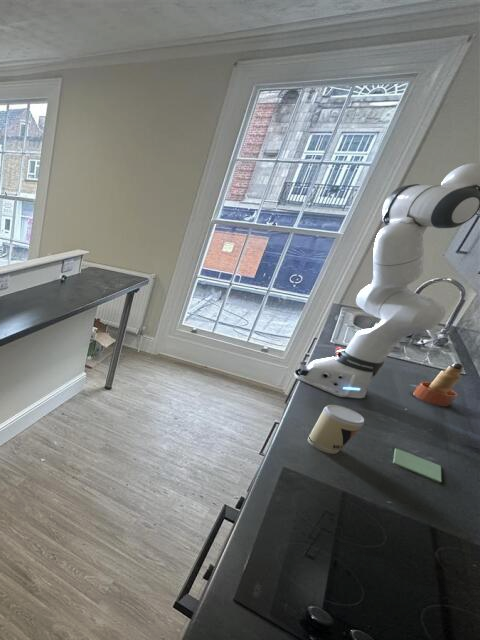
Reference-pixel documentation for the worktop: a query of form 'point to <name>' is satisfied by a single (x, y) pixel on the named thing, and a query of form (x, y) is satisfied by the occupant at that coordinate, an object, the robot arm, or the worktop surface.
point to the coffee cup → (335, 428)
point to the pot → (434, 395)
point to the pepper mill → (446, 379)
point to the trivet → (417, 465)
